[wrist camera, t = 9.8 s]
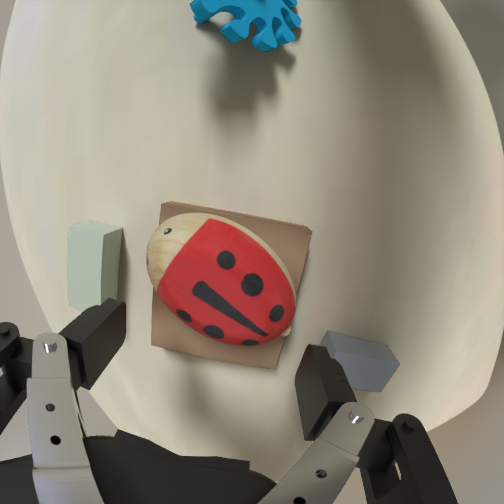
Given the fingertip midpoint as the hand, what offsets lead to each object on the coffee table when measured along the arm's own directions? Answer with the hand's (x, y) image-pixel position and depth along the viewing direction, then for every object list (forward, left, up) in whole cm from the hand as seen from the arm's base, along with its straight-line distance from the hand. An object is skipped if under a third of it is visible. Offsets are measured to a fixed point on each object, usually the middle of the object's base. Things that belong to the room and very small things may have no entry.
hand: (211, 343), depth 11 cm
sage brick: (+1, -10, -8) cm, 13 cm away
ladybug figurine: (-1, 0, -6) cm, 6 cm away
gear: (-20, -3, -8) cm, 22 cm away
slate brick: (+4, +11, -8) cm, 14 cm away
